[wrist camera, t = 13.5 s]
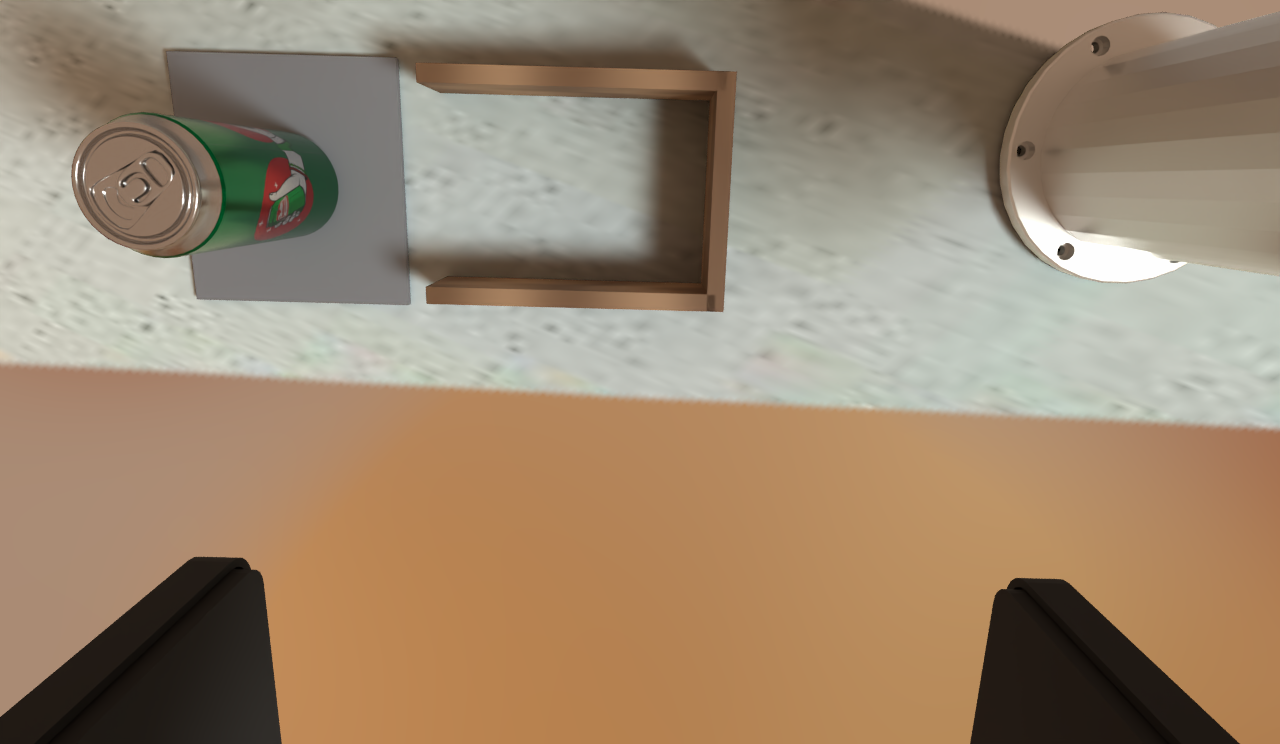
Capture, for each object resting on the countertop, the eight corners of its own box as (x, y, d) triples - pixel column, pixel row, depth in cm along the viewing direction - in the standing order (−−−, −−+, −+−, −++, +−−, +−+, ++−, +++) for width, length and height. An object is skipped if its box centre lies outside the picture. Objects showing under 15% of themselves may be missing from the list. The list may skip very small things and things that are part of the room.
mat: (398, 58, 36) (395, 57, 35) (410, 303, 39) (408, 305, 38) (171, 52, 36) (166, 51, 35) (201, 298, 39) (197, 299, 38)
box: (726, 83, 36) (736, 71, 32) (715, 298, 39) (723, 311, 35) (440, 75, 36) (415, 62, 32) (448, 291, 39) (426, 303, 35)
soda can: (220, 173, 37) (27, 169, 25) (295, 110, 36) (133, 77, 24) (289, 256, 38) (135, 289, 26) (364, 197, 37) (239, 204, 25)
